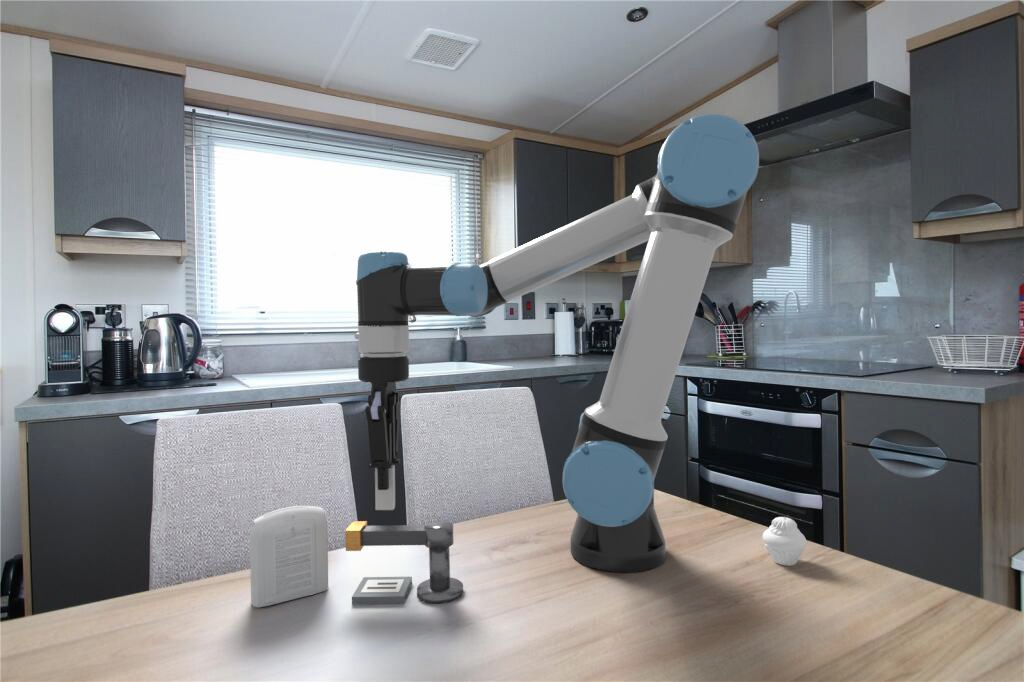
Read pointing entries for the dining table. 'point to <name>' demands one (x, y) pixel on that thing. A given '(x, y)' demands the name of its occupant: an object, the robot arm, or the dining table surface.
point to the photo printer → (288, 555)
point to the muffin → (784, 541)
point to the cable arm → (399, 535)
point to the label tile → (382, 590)
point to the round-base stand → (439, 580)
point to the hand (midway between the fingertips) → (385, 508)
